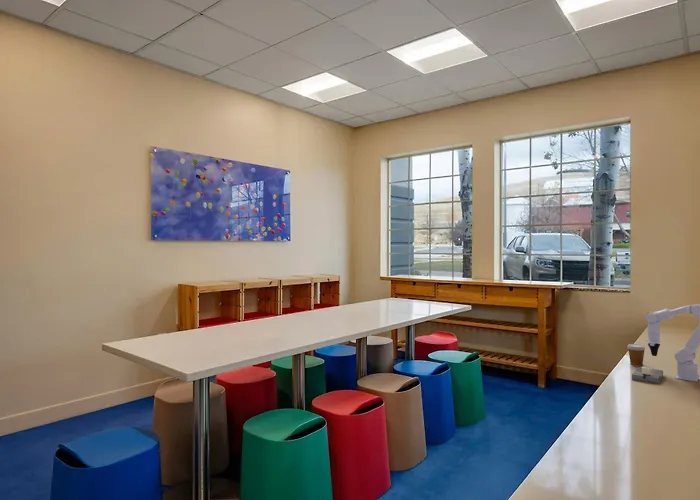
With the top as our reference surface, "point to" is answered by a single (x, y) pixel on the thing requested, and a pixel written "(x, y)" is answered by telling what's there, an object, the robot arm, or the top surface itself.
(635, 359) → the disposable coffee cup
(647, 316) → the robot arm
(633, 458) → the top surface
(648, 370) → the fader tab
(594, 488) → the top surface
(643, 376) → the fader console
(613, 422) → the top surface
